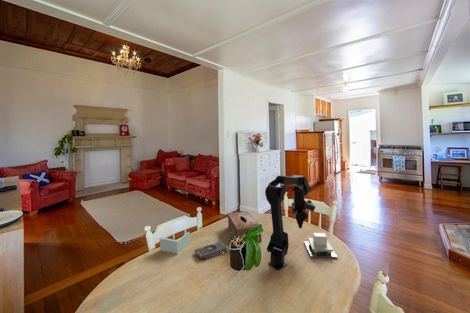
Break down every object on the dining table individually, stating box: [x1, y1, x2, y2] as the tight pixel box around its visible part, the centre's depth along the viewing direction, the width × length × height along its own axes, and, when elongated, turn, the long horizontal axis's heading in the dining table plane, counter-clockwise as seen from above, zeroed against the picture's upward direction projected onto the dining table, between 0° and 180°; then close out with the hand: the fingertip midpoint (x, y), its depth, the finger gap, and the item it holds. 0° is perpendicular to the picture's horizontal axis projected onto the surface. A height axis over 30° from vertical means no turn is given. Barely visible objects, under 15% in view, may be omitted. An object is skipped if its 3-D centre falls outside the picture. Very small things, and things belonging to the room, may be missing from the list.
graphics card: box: [194, 238, 230, 259], centre depth 119 cm, size 17×4×12 cm
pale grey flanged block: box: [307, 232, 334, 252], centre depth 115 cm, size 12×10×6 cm
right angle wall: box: [159, 231, 191, 255], centre depth 124 cm, size 12×12×8 cm
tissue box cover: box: [227, 210, 262, 243], centre depth 138 cm, size 26×14×10 cm, turn 14°
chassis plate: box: [304, 241, 338, 260], centre depth 116 cm, size 15×13×3 cm
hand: (299, 224), depth 121 cm, fingers open, 9 cm apart
